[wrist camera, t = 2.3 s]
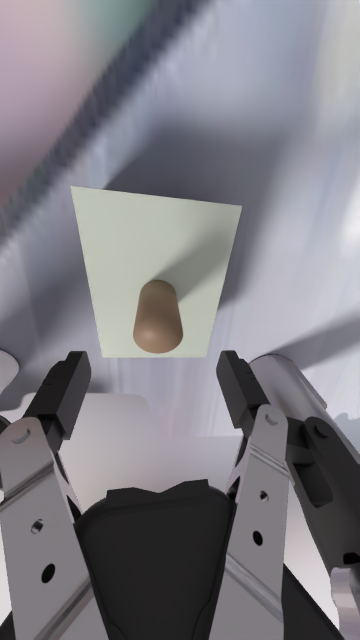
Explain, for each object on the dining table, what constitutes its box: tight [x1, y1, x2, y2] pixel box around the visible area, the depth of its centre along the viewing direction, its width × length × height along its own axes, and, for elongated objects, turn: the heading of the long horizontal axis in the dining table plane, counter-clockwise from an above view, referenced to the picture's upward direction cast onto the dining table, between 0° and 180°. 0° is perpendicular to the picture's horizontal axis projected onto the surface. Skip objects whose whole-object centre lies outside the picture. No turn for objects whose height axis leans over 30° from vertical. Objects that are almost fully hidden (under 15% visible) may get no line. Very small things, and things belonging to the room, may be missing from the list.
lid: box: [71, 186, 242, 357], centre depth 17 cm, size 13×17×8 cm
